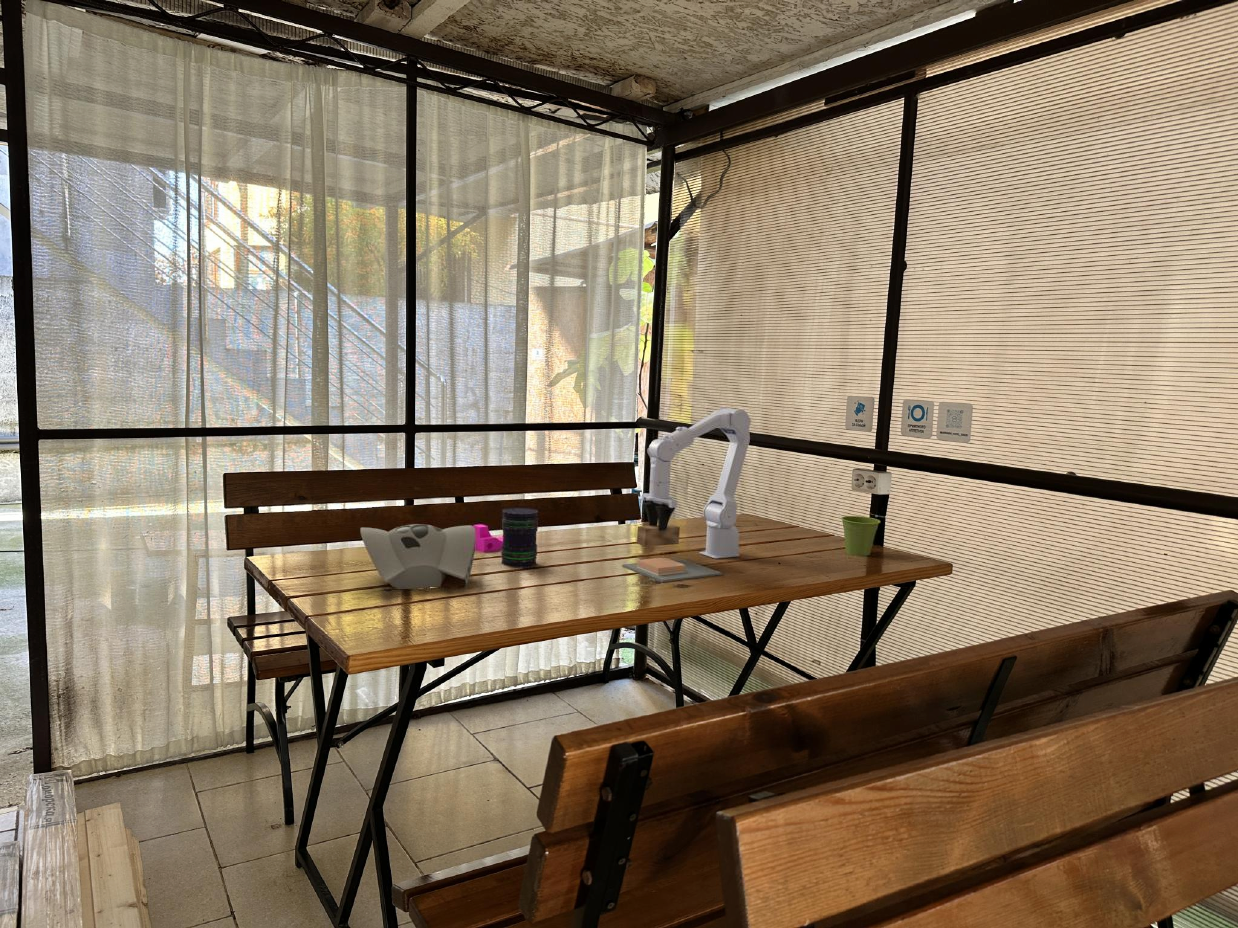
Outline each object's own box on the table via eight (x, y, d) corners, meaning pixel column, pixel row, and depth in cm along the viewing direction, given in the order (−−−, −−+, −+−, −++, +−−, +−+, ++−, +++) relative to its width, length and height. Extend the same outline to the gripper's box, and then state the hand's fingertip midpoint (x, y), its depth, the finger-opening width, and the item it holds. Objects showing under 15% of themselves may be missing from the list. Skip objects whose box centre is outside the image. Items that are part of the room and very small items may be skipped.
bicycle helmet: (463, 557, 232) (468, 505, 226) (481, 608, 210) (487, 553, 204) (354, 561, 222) (357, 506, 216) (362, 615, 200) (365, 556, 194)
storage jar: (544, 564, 237) (545, 511, 236) (516, 569, 230) (518, 515, 229) (520, 558, 244) (522, 506, 242) (493, 563, 237) (494, 509, 235)
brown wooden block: (670, 541, 252) (671, 524, 251) (678, 544, 249) (679, 527, 248) (636, 543, 245) (637, 526, 245) (644, 546, 242) (645, 528, 242)
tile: (663, 557, 241) (637, 560, 236) (685, 565, 233) (658, 568, 228) (663, 564, 241) (637, 567, 236) (685, 572, 233) (658, 575, 228)
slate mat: (680, 560, 250) (680, 558, 250) (721, 574, 234) (721, 572, 234) (622, 566, 239) (622, 564, 239) (662, 582, 223) (662, 580, 223)
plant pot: (835, 556, 264) (838, 520, 263) (841, 549, 275) (843, 514, 274) (875, 560, 260) (878, 524, 258) (879, 553, 271) (882, 518, 269)
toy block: (483, 554, 248) (484, 528, 247) (473, 550, 253) (473, 525, 252) (527, 548, 258) (528, 524, 257) (516, 545, 262) (517, 520, 262)
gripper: (634, 478, 249) (631, 525, 250) (663, 485, 237) (661, 534, 238) (653, 478, 253) (651, 523, 254) (684, 484, 241) (681, 532, 242)
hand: (657, 528), depth 246 cm, fingers closed on brown wooden block, 4 cm apart
